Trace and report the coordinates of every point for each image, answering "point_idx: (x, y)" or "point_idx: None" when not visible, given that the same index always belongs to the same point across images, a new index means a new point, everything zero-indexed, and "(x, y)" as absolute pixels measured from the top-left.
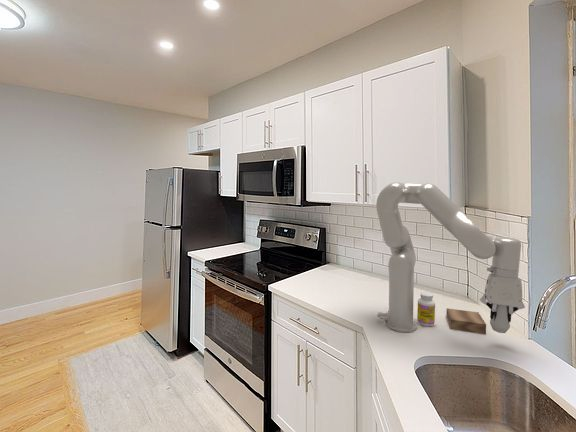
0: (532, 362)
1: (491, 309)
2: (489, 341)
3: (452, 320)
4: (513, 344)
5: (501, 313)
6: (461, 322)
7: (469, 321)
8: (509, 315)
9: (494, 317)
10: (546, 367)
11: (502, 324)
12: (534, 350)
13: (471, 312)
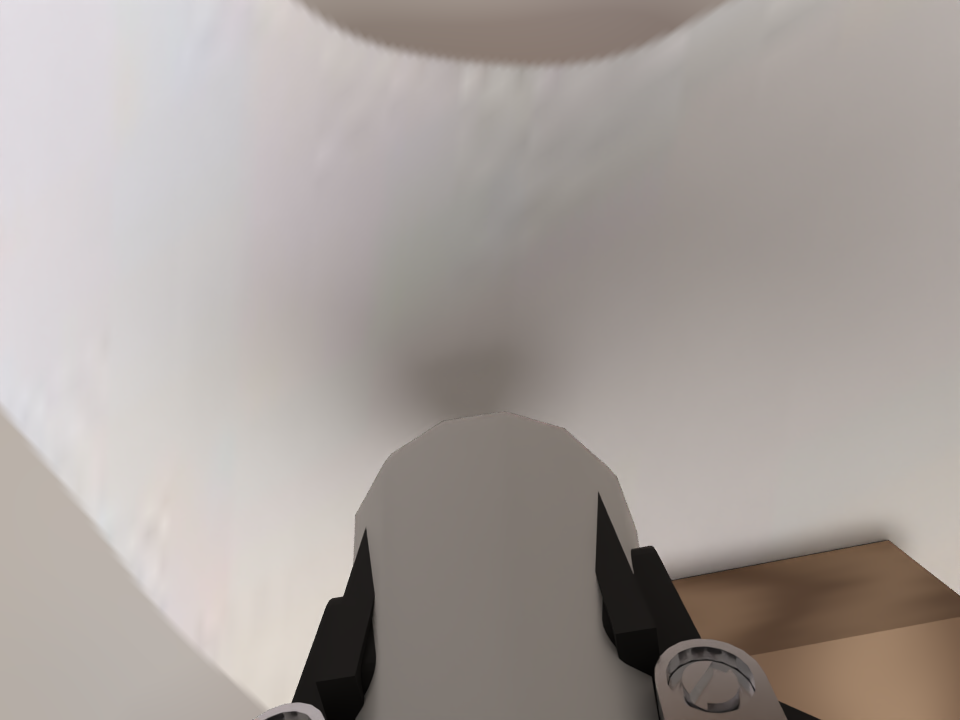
0: (204, 201)
1: (763, 696)
2: None
3: (956, 608)
4: (346, 514)
5: (511, 621)
6: (850, 619)
7: (772, 668)
8: (328, 655)
9: (619, 548)
10: (88, 161)
11: (471, 451)
12: (177, 488)
13: None
